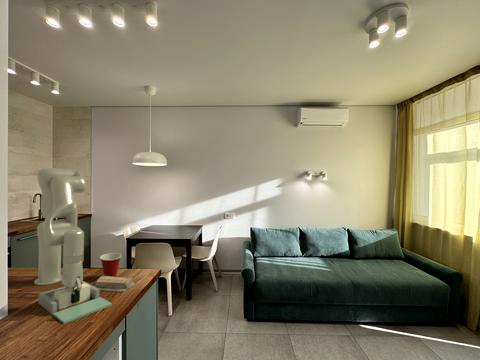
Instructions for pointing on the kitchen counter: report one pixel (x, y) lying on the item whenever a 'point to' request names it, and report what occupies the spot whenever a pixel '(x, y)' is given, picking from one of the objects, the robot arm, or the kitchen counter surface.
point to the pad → (81, 310)
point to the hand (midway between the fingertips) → (72, 300)
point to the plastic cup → (110, 263)
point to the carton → (65, 296)
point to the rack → (50, 305)
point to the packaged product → (113, 283)
